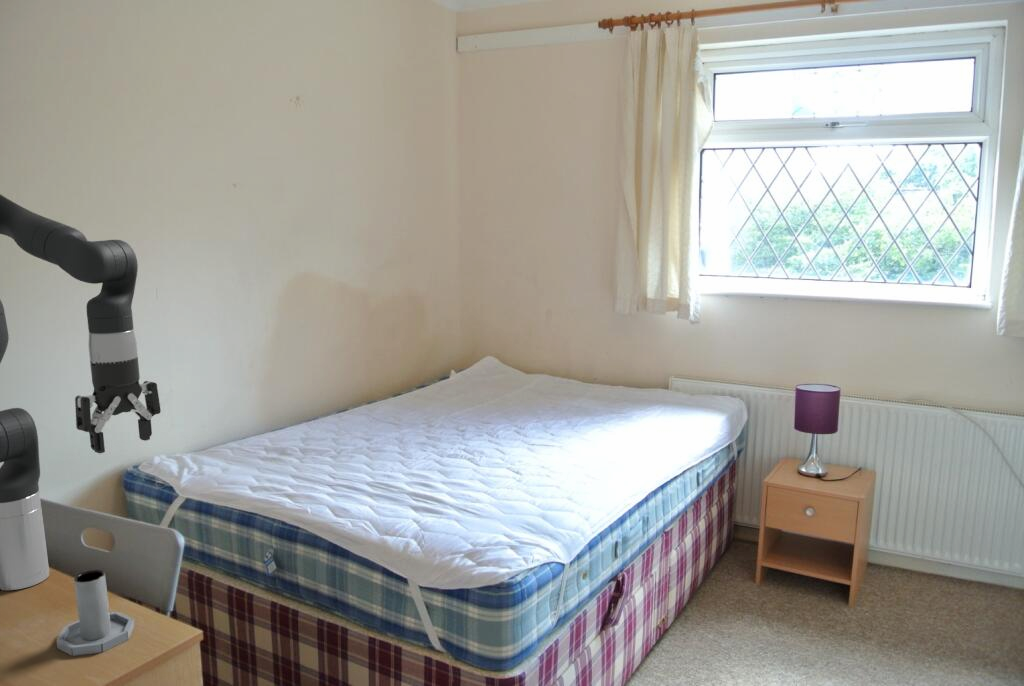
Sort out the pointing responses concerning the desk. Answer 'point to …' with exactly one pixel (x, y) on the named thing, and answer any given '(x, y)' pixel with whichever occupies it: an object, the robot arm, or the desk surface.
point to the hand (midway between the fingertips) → (122, 445)
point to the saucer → (78, 646)
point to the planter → (92, 604)
